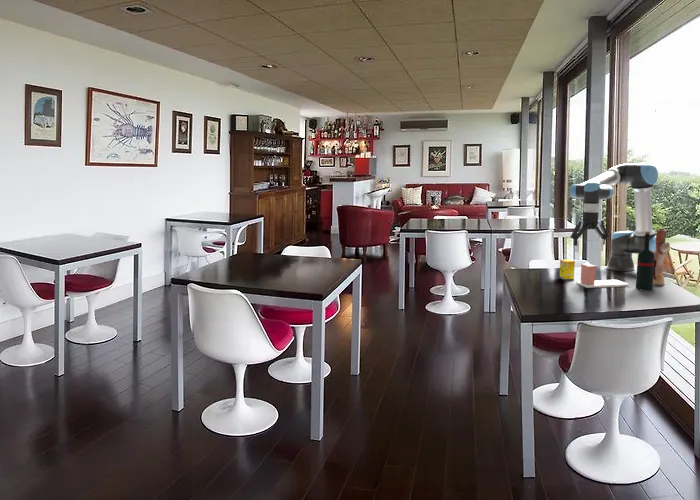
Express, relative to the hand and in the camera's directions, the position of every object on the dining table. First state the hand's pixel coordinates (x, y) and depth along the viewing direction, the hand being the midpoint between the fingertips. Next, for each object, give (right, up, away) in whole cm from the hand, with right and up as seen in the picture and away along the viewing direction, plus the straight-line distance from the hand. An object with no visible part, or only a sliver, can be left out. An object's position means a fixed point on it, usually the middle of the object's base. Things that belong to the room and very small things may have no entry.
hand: (588, 251), depth 306 cm
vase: (+38, -18, +2) cm, 42 cm away
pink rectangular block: (0, -18, +3) cm, 18 cm away
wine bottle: (+27, -20, -7) cm, 34 cm away
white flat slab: (+12, -18, +4) cm, 22 cm away
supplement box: (-5, -16, +19) cm, 25 cm away
